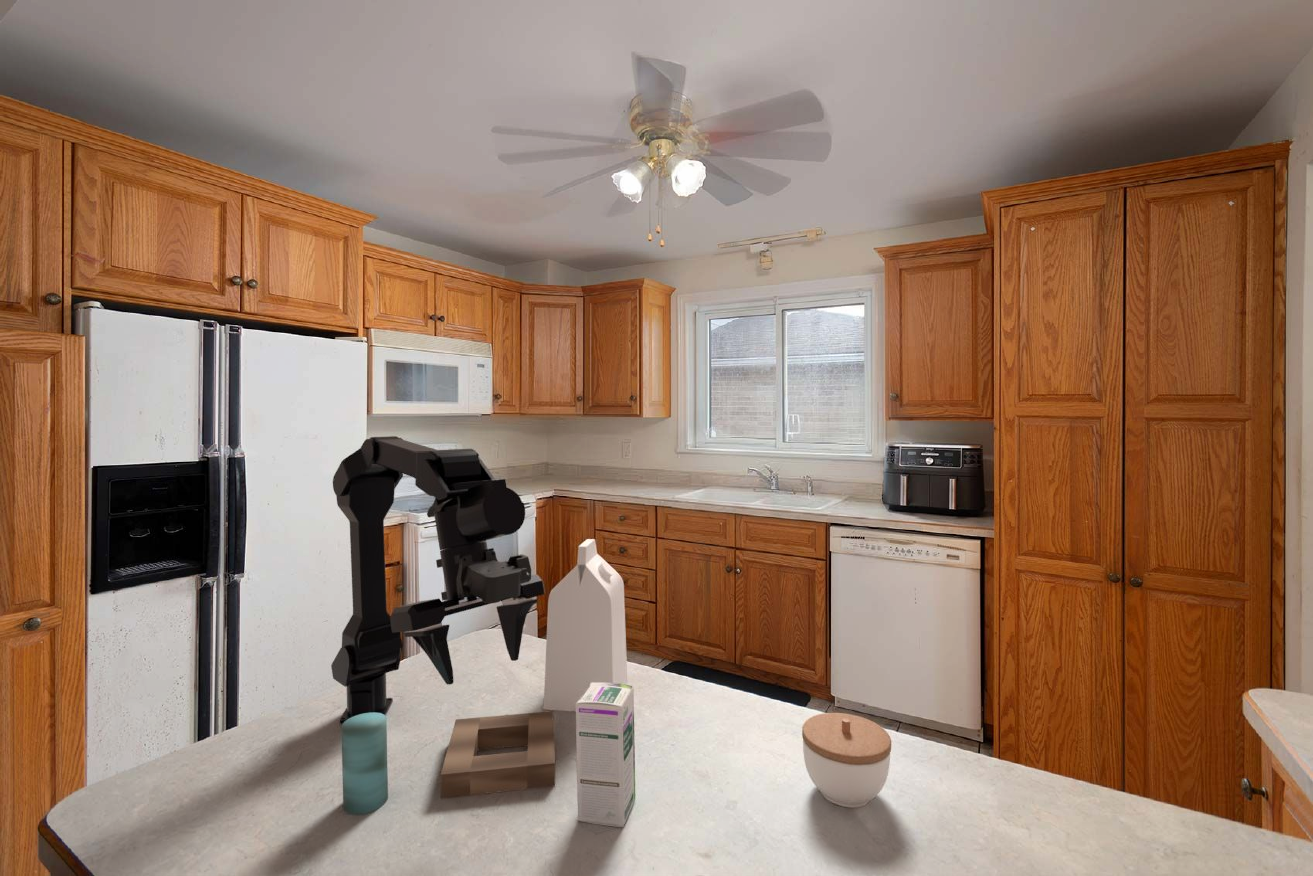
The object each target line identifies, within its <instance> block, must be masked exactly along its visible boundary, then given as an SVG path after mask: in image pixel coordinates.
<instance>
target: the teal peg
mask: <svg viewBox="0 0 1313 876" xmlns="http://www.w3.org/2000/svg"><path fill="white" fill-rule="evenodd" d="M387 727H388V726H387V715H386V716H385V715H384V714H382V713H376V712H371V713H363V714H359V715H356V716H353V717H351V718H349V719H348V720H346V721H345V722H344V723H341V757H342V758H341V763H342V765H341V766H342V767H341V768H342V769H341V770H342V808H343V811H344V813H346V814H347V815H353V816H359V815H361V816H362V815H365V814H369V813H371V812H372V813H373V812H374V811H377V810H378V809H380V808H381V807H382V806H384V805H385V804H386V803H387V801H388V799H389V787H388V786H389V781H388V780H389V779H388V775H389V774H388V728H387Z"/></svg>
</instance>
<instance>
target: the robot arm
mask: <svg viewBox="0 0 1313 876" xmlns="http://www.w3.org/2000/svg"><path fill="white" fill-rule="evenodd" d="M404 475H406V476H409V477H412V478H413V479H415V485H414V486H416V487H417V488H418V489H420V491H422V492H424V493H425V494H426V495H427V496H429V497H434V501H433V504H432V505H431V506H430V507H429V508H428V510H427V513H426V516H427V517H428V518H434V522H435V528H436V534H437V541H438V546H439V555H440V558H439V559H436V560H435V561H436V567H437V569H438V568H441V569H442V572H443V579H444V585H445V591H443V592H441V593H440V595H441V599H440V598H433V599H428V600H427V599H426V600H420V601H416V602H413V603H408V604H403V605H400V606H397V607H396V606H395V607H394V608H393V610H392V612H391V614H390V613H388V608H387V607H388V606H387V603H388V602H387V601H388V600H387V584H386V583H387V579H386V578H387V577H386V576H387V575H386V553H385V552H386V551H385V548H386V547H385V524H384V523H385V522H384V521H385V518H386V516H387V515H388V514H389V511H390V509H391V508H392V506H393V505H394V502H395V490H396V488H397V486H398V485H399V483H400V482H401V480H402V479H403V477H404ZM332 489H333V492H334V495H335V496H336V504H337V507H338V508H339V509H340V510H341V512H342V513H343V515H344V516H345V517H346V519H347V520H348V522H349V539H350V541H349V543H350V567H351V568H350V569H351V589H352V591H351V593H352V614H351V616H350V618H349V619H348V621H347V624H346V625H345V627H344V629H343V631H342V632H341V633H342V634H341V647H340V649H339V650H338V652H337V654H336V656H335V658H334V660H333V661H332V663H331V665H330V666H331V673H332V674H331V675H332V678H333V680H335V681H336V682H338V683H339V684H341V685H342V686H343V687H346V708H345V710H344V712H343V713H342V714H341V716H340V717H339V723H341V724H343V723H344V722H345V721H346V720H348V719H349V718H351V717H353V716H356V715H359V714H363V713H371V712H376V713H382V714H384V715H385V716H386V717H387V714H388V712H389V710H390V708H391V706H392V704H393V701H394V698H392V697H387V673H390V672H394V671H398V670H399V669H400V664H401V657H402V653H403V646H404V644H403V640H402V637H401V635H402V634H401V633H402V632H403V637H404V638H411V637H412V639H413V640H414V641H415V642H416V644H417V645H418V646H419V647H420V648H421V649H422V650H423V652H424V653H425V654H426V656H427V657H428V658H429V660H430V661H431V663H432V664H433V667H434V668H435V669H436V671H437V672H438V674H439V675H440V677H441V678H442V680H443V681H444V682H445V684H446V685H453V684H454V681H455V680H454V670H453V665H452V660H451V659H452V658H451V655H450V649H449V643H448V634H449V629H450V624H443V621H444V619H445V617H447V616H451V615H455V614H457V613H461V612H465V611H469V610H473V609H476V608H480V607H483V606H487V605H488V606H489V605H490V604H496V603H500V602H501V603H502V604H501V605H497V606H496V610H497V615H498V618H499V619H498V620H499V622H500V628H501V631H502V634H503V639H504V642H505V647H506V650H507V653H508V655H509V658H510V661H513V662H515V661H517V660H519V655H520V650H521V643H522V637H523V631H524V626H525V622H526V618H527V615H528V613H529V611H530V610H531V609H532V607H533V606H534V605H535V604H538V602H539V598H536V597H539V596H543V595H545V594H546V589H545V585H544V581H543V579H542V578H541V577H540V576H539V575H538V574H532V565H531V562H530V559H529V556H527V555H525V554H523V553H522V554H517V555H512V556H510V557H509V558H508V560H505V561H499V560H498V559H497V554H496V551H495V550H494V549H495V548H494V547H493V548H488V543H487V541H488V540H493V539H496V538H500V537H501V538H502V537H504V536H509V535H512V534H515V533H516V532H517V531H519V530H520V529H521V527H522V526H523V524H524V521H525V518H526V517H525V516H526V507H525V503H524V501H522V499H521V497H520V495H519V494H518V493H517V492H516V491H515V490H513V489H512V488H510V487H507V482H506V479H505V477H501V478H495V477H494V476H493V474H492V473H491V472H490V470H489V469H488V467H487V466H486V464H485V463H484V462H483V460H482V459H481V458H480V454H479V453H478V452H477V451H476V450H475V449H474V448H454V449H451V448H450V449H435V448H434V447H433V448H432V447H429V446H426V445H422V444H419V443H415V442H411V441H408V440H406V439H405V440H404V439H403V438H402V437H398V436H396V435H395V436H393V435H391V436H371V437H369V438H366V439H365V440H363V443H362V444H361V446H360V447H359V449H357V450H356V451H354V452H353V453H351V454H350V455H348V456H347V457H345V458H344V459H343V460H342V461H341V462H340V463H339V465H338V468H337V470H336V471H335V473H334V475H333V477H332ZM465 598H466V600H465Z"/></svg>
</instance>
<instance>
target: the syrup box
mask: <svg viewBox="0 0 1313 876" xmlns="http://www.w3.org/2000/svg"><path fill="white" fill-rule="evenodd" d="M634 692H635V691H634V686H633V685H629V684H626V685H624V684H618V683H593V682H591V684H590V686H589V687H588V688H587V690H586V691H585V692H584V693H583V694H582V696H581V697H580V699H579V700H578V702H577V703H576V711H575V733H576V735H575V736H576V738H575V740H576V745H575V746H576V749H575V750H576V781H577V783H576V784H577V785H576V786H577V787H576V788H577V789H576V790H577V794H576V795H577V820H578V821H580V822H583V823H589V824H594V825H602V826H609V827H617V828H624V827H625V823H626V821H627V820H628V818H629V814H630V812H631V810H632V807H633V805H634V802H635V800H636V760H635V759H636V758H635V757H636V753H635V751H636V750H635V747H636V745H635V699H634V698H635V697H634V695H635V694H634Z"/></svg>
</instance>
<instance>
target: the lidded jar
mask: <svg viewBox="0 0 1313 876" xmlns="http://www.w3.org/2000/svg"><path fill="white" fill-rule="evenodd" d="M801 730H802V731H801V735H802V751H803V759H804V765H805V768H806V771H807V774H808V776H809V778H810V780H811V782H812V783H813V784H814V786H815V787H816V789H818V791H820V793H821V795H822V796H823V798H824V799H826V801H828V802H830V803H832V804H834V805H836V806H839V807H842V808H848V809H849V808H850V809H854V808H856V809H857V808H861V807H865V806H866V805H868V804H869V802H870V801H871V800H873V799H875V797H877V796H878V795H879V793H880V792H881V791H882V790H883V789H884V786H885V784H886V781H887V779H888V776H889V772H890V771H889V770H890V765H891V764H890V762H891V761H890V760H891V751H892V739H891V736H890V735H889V733H888V732H887V731H886V729H885V728H883V727H882V725H879V724H878V723H876V722H874V721H873V720H870V719H868V718H865V717H863V716H859V715H854V714H851V713H841V712H827V713H820V714H816V715H813V716H811V717H809V718H808V719H806V721H804V723H803V725H802V729H801Z"/></svg>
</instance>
